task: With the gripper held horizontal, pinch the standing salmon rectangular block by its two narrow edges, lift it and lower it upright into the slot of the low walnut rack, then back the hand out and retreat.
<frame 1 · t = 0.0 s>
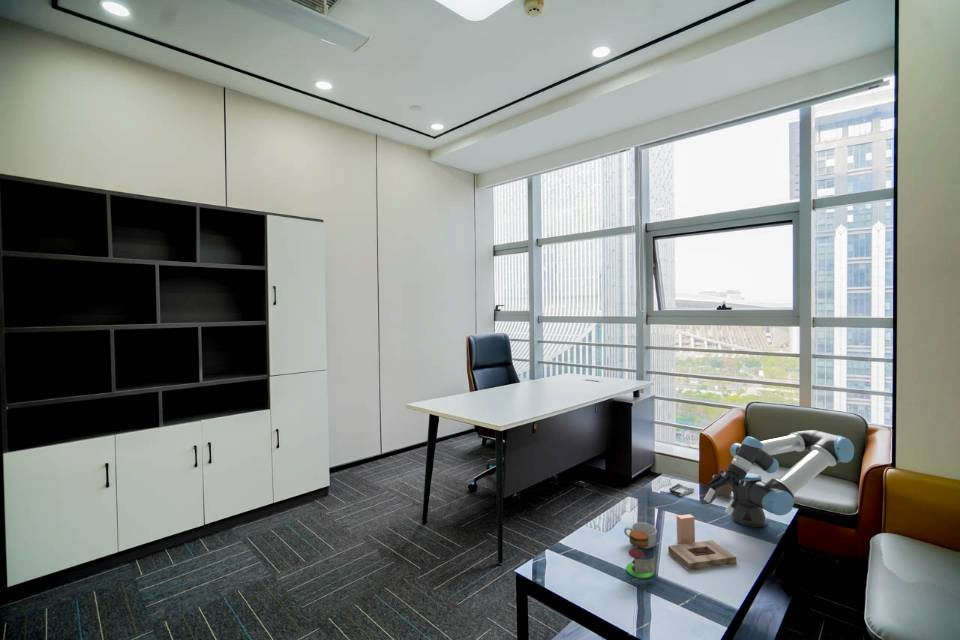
hand: (716, 507, 200), 15 cm above the table, tool tilted 35°, fingers open, 13 cm apart
salmon rectangular block: (686, 542, 198), on the table
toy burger: (639, 572, 177), on the table
flower pot: (723, 495, 250), on the table
teacup: (640, 545, 197), on the table
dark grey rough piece: (680, 492, 256), on the table
slotted rack: (701, 558, 185), on the table
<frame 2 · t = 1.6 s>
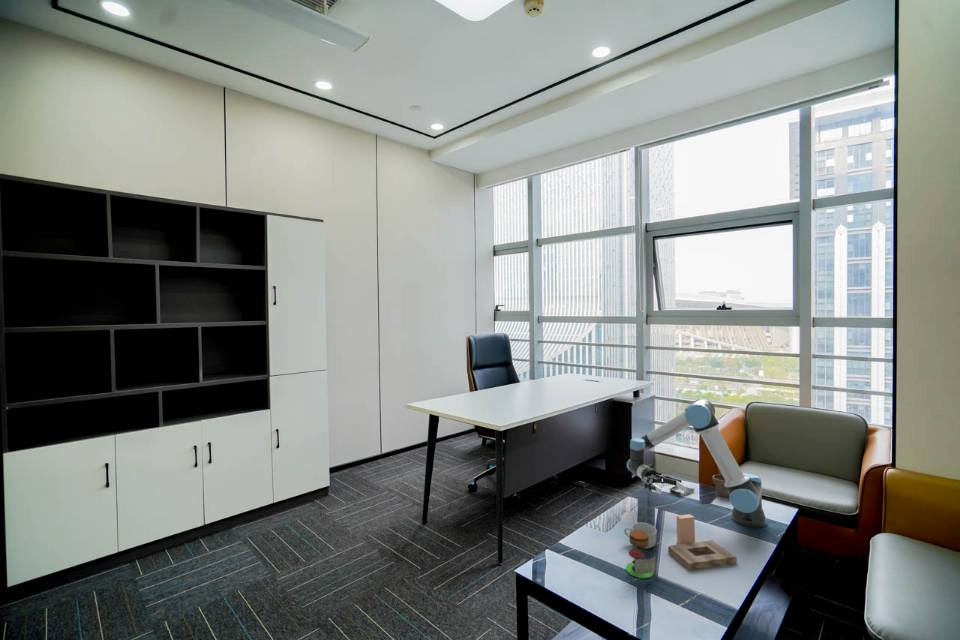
hand: (673, 490, 207), 21 cm above the table, tool horizontal, fingers open, 13 cm apart
nothing on the table moved.
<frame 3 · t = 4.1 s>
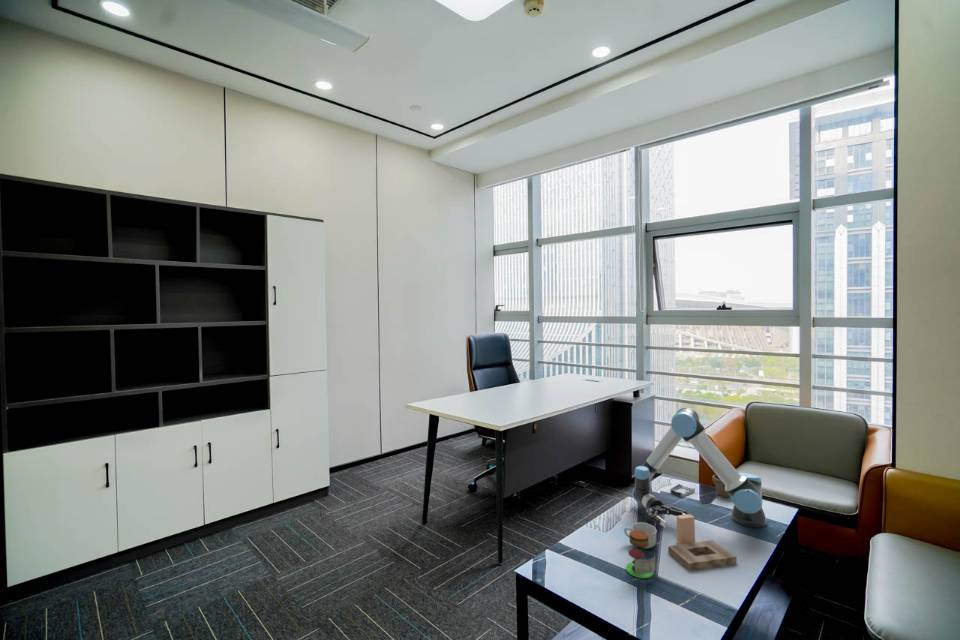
hand: (678, 523, 202), 7 cm above the table, tool horizontal, fingers open, 13 cm apart
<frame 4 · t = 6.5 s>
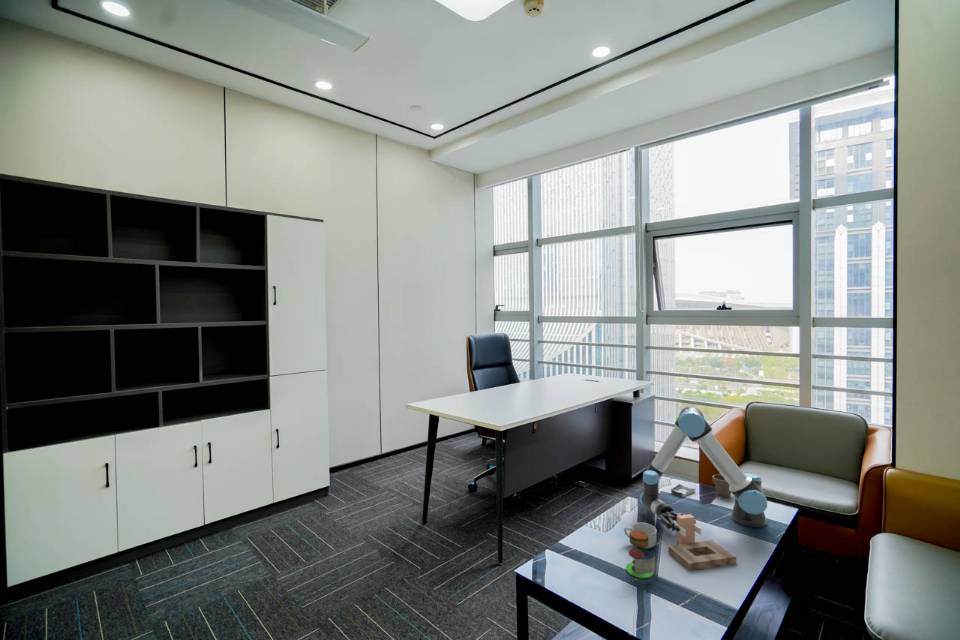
hand: (692, 532, 193), 7 cm above the table, tool horizontal, fingers closed on salmon rectangular block, 7 cm apart
salmon rectangular block: (686, 542, 198), on the table, touching gripper
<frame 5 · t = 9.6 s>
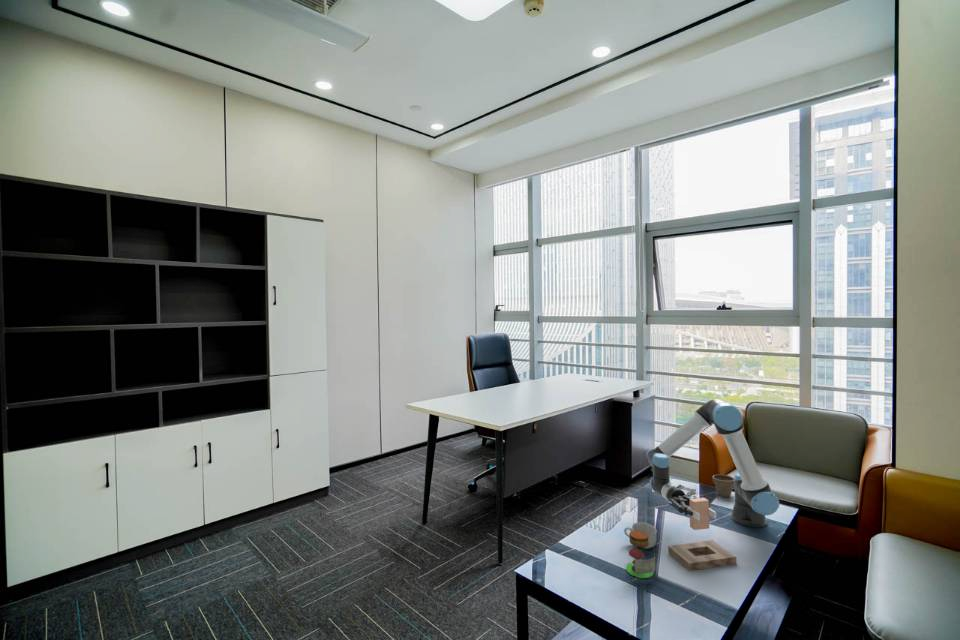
hand: (707, 516, 181), 20 cm above the table, tool horizontal, fingers closed on salmon rectangular block, 7 cm apart
salmon rectangular block: (699, 527, 186), point 13 cm above the table, touching gripper
when the fingers open (8 cm above the table, at t = 12.8 s): salmon rectangular block drops 1 cm, resting in slotted rack.
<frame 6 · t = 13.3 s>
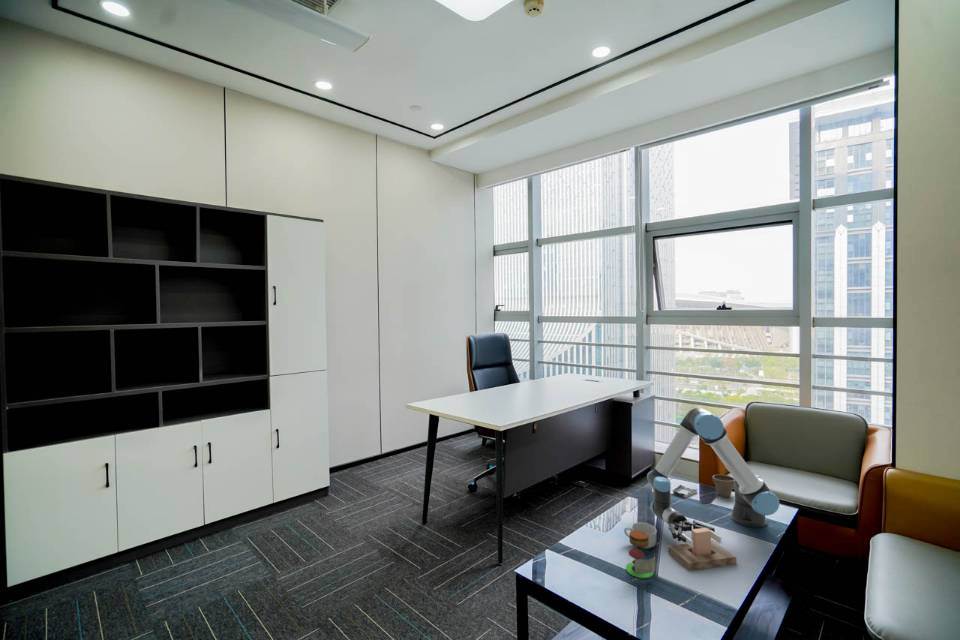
hand: (706, 542, 182), 8 cm above the table, tool horizontal, fingers open, 13 cm apart
salmon rectangular block: (701, 558, 185), resting in slotted rack
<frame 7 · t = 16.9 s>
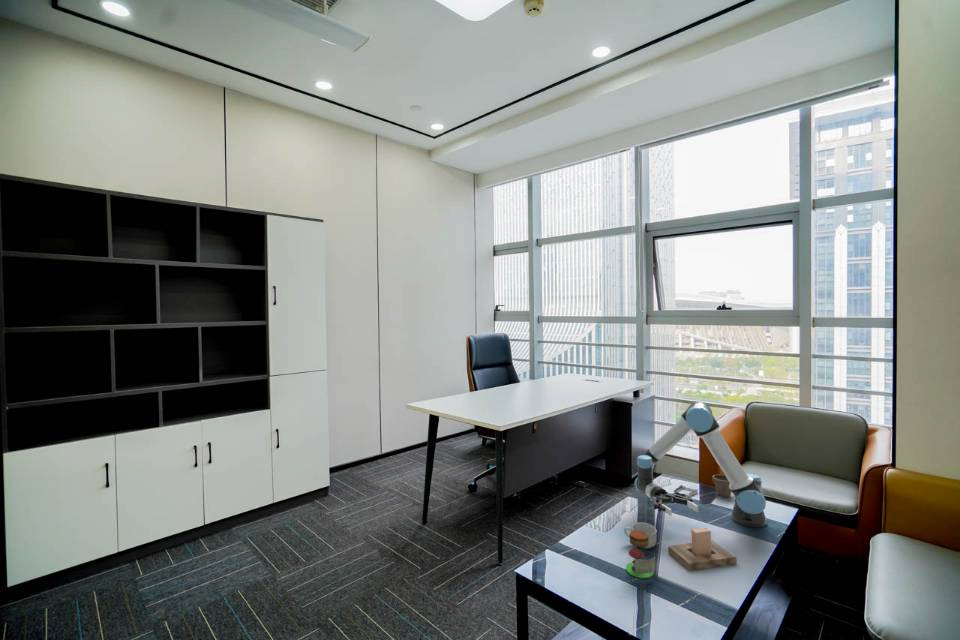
hand: (684, 510, 198), 15 cm above the table, tool horizontal, fingers open, 13 cm apart
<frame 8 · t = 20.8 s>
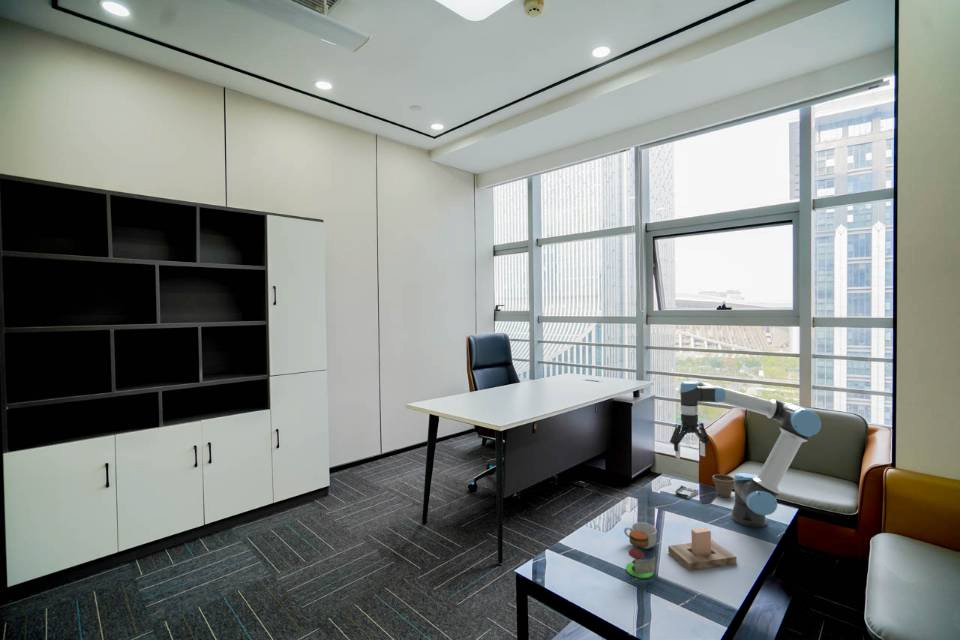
hand: (690, 456, 212), 35 cm above the table, tool pointing down, fingers open, 13 cm apart
at the end: salmon rectangular block 0.1 cm off-centre on the slotted rack, point 0.0 cm above the slotted rack's base; salmon rectangular block tilted 0°; the gripper is holding nothing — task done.
